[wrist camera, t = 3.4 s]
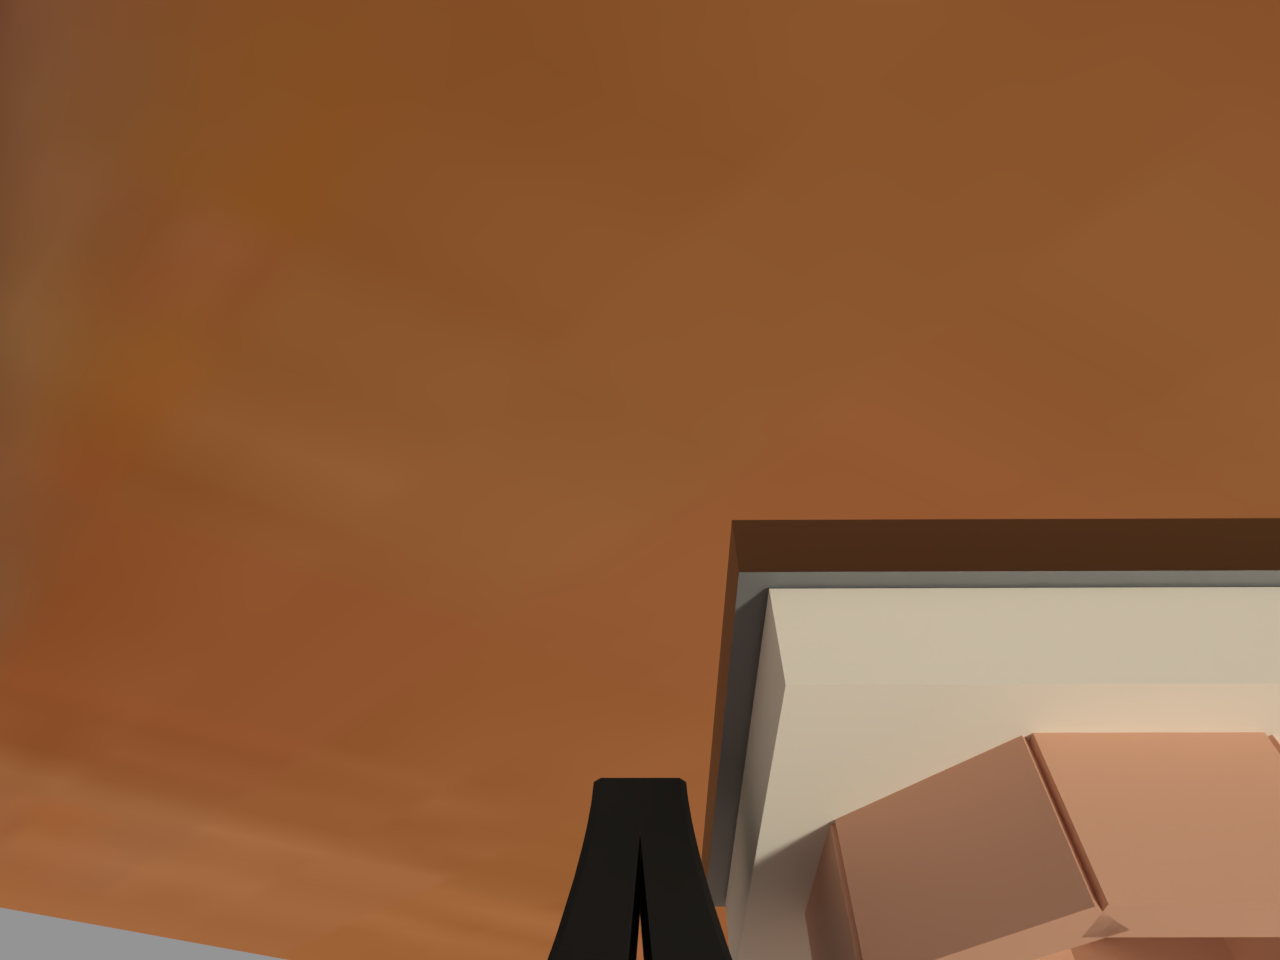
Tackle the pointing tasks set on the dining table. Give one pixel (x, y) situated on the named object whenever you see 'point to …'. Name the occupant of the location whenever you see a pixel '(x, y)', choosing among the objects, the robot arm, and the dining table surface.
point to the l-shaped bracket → (943, 561)
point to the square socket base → (1012, 776)
